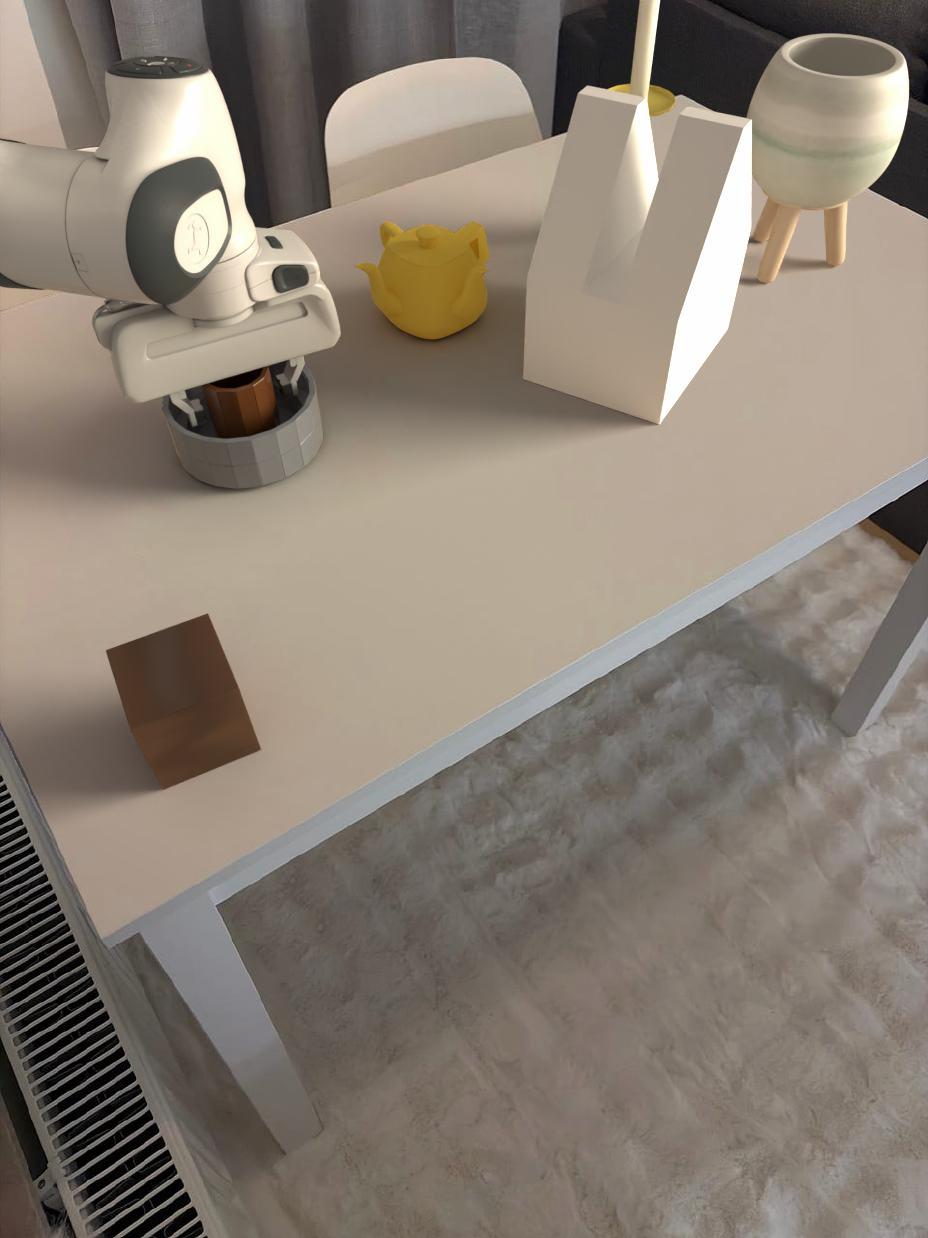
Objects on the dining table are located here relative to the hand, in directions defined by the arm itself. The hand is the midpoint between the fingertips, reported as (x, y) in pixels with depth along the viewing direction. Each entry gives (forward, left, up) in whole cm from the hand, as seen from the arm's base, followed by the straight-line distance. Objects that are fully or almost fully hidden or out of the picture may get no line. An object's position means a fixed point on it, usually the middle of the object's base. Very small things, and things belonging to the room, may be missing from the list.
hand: (244, 407), depth 87 cm
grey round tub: (0, 0, -4) cm, 4 cm away
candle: (+55, +19, -5) cm, 58 cm away
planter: (+68, +3, -5) cm, 68 cm away
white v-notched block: (+41, -4, -5) cm, 41 cm away
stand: (-14, -30, -4) cm, 34 cm away
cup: (0, 0, -4) cm, 4 cm away
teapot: (+25, +12, -5) cm, 28 cm away
